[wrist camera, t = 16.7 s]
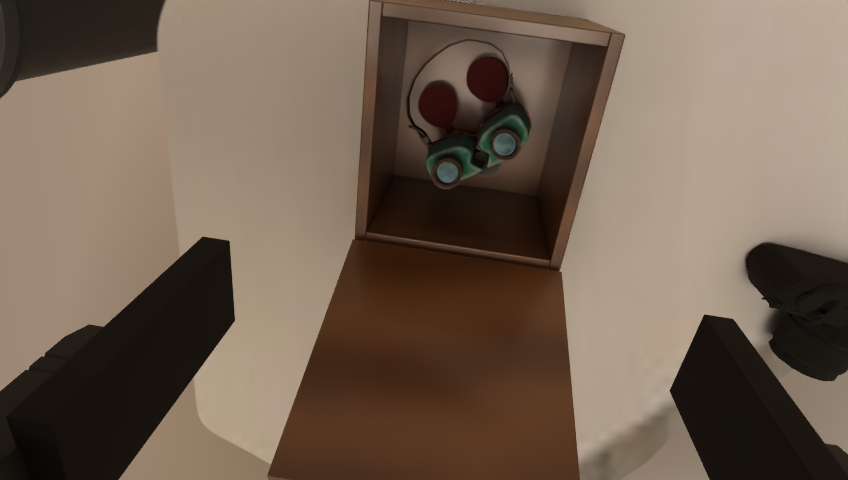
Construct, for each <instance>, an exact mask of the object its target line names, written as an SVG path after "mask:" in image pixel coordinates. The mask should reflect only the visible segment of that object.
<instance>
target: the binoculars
mask: <svg viewBox="0 0 848 480" xmlns="http://www.w3.org/2000/svg"><path fill="white" fill-rule="evenodd" d="M468 40H469V41H474V42H480V43H485V44H490V45H491V46H493V47H494V48H495V49H497V50H498V51H500V52H501V53H502V55H503V58H504V60H505V62H506V64H507V68H508V71H507V68H506V66H505V64H504V63H503V62H502V61H500V60H499V59H497V58H494V57H484V58H480V59H478V60H476V61H475V62H473V64H472V65H471V66H470V67H469V69H468V72H467V76H466V82H467V86H468V89H469V90H470V92H471V93H472V94H473V95H474V96H475V97H476V98H477V99H479V100H481V101H483V102H487V103H493V102H495V104H496V108H495V109H494V111H493V113H492V115H490V116H489V117H488V118H486V120H485V121H484V123H481V124H480V129H479V131H478V132H476V133H471V132H467V131H461V130H456V129H454V127H453V125H452V123H453V121H454V120H455V118H456V115H457V108H458V104H457V99H456V96H455V94H454V93H453V91H452V90H451V89H450V88H448V87H447V86H444V85H439V84H436V85H432V86H429V87H427V88H426V89H425V90H424V91H423V92H422V93H421V95H420V97H419V101H418V108H419V112H420V114H421V116H422V118H423V119H424V120H425V121H426V122H428V123H429V124H431V125H433V126H435V127H438V128H445V130H446V132H447V135H446V137H443V138H441V139H438V140H437V141H434V142H432V141H431V140H430V138H429V136H428V135H427V133H426V132H425V131H424V130H423V129H421V128H420V127H418V126H417V125H415V123H414V121H413V119H412V117H411V115H410V94H411V91H412V88H413V85H414V82H415V80H416V78H417V76H418V75H419V74H420V72H421V71H422V70H423V68H424V67H425V66H426V64H428V63H429V62H430V61H431V60H432V59H433V58H434V57H435V56H436V55H438V54H439V53H440V52H442V51H443V50H445V49H446V48H448V47H449V46H452V45H455V44H458V43H461V42H465V41H468ZM508 74H509V76H508ZM512 75H513V73H511V77H510V71H509V64H508V62H507V60H506V58H505V56H504V53H503V51H502V50H500V49H499V48H497V47H496V46H494V45H493V44H492V43H490V42H484V41H479V40H473V39H465V40H462V41H458V42H455V43H452V44H449V45H447V46H445V47H444V48H443V49H441V50H440V51H438V52H437V53H435V54H434V55H433V56H432V57H431V58H430V59H428V60H427V61H426V62H425V63H424V64H423V65H422V67H421V68H420V69H419V71H418V72H417V73H416V75H415V76H414V77H413V79H412V82H411V85H410V87H409V90H408V93H407V96H406V116H407V118H408V120H409V122H410V124H411V125H409V126H408V127H409V128H410V129H413V130H415V131H416V132H417V134H418V136H419V137H420V139H421V141H422V142H423V143H424V144H425V145H426V146H427V147H428V155H427V158H426V167H427V170H428V172H429V174H430V176H431V178H432V181H433V182H434V184H435V185H436V186H437V187H439V188H441V189H451V188H453V187H455V186H456V185H457V184H458V183H459V182H460V180H463V179H466V178H468V177H471V176H473V175H475V174H478V175H479V176H483V177H485V178H486V177H492V176H493V175H494V174H497V172H498V169H500V167H501V165H500V163H501V162H502V161H504V160H505V161H507V160H512V159H514V158H515V157H516V156H517V155H518V154H519V152H520V150H521V147H522V146H523V145H524V144H525V143H526V141H527V140H528V137H529V133H530V131H531V128H532V123H531V119H530V117H529V115H528V114H529V111H527V110H526V109H525V108H524V106H523V105H522V104H521V103H519V102H517V99H516V98H515V94H514V91H515V89H514V85H513V82H512V81H513V80H514V78H513V77H512ZM508 82H509V87H508ZM510 84H511V85H512V87H510ZM507 87H508V90H509V93H511V97H512V101H511V102H510V103H508V104H506V105H505V103H504V100H503V98H502V97H503V96H504V94H505V93H506V90H507ZM479 132H480V134H479ZM478 134H479V147H480V148H481V149H480V150H478V149H477V147H476V145H477V137H476V136H477V135H478ZM425 138H427V140H428V141H429V142H428V143H427V142H426V141H425V140H424V139H425ZM431 145H432V146H431Z"/></svg>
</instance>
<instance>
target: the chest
mask: <svg viewBox="0 0 848 480" xmlns="http://www.w3.org/2000/svg"><path fill="white" fill-rule="evenodd" d="M624 38H625V34H623V33H621V32H618V31H615V30H613V29H610V28H608V27H605V26H602V25H600V24H597V23H594V22H592V21H589V20H587V19H580V18H573V17H565V16H558V15H550V14H543V13H536V12H528V11H521V10H513V9H506V8H498V7H491V6H483V5H476V4H468V3H461V2H454V1H446V0H369V12H368V28H367V45H366V61H365V78H364V94H363V110H362V127H361V143H360V160H359V176H358V192H357V209H356V225H355V240H361V241H367V242H374V243H380V244H386V245H393V246H399V247H406V248H412V249H418V250H425V251H431V252H437V253H444V254H450V255H457V256H463V257H469V258H476V259H482V260H489V261H495V262H501V263H508V264H514V265H520V266H527V267H533V268H540V269H546V270H552V271H560V268H561V264H562V260H563V257H564V253H565V250H566V246H567V243H568V239H569V235H570V232H571V228H572V225H573V221H574V217H575V214H576V210H577V207H578V203H579V200H580V196H581V192H582V189H583V185H584V182H585V178H586V175H587V171H588V167H589V164H590V160H591V157H592V153H593V149H594V146H595V142H596V139H597V135H598V132H599V128H600V124H601V121H602V117H603V114H604V110H605V106H606V103H607V99H608V96H609V92H610V89H611V85H612V81H613V78H614V74H615V71H616V67H617V64H618V60H619V56H620V53H621V49H622V46H623V42H624ZM465 39H473V40H479V41H484V42H490V43H492V44H493V45H494V46H496V47H497V48H499V49H500V50H502V51H503V53H504V56H505V58H506V60H507V62H508V64H509V71H510V77H511V73H513V75H512V77H513V78H514V80H513V81H512V82H513V85H514V89H515V91H514V94H515V98H516V99H517V102H519V103H521V104H522V105H523V106H524V108H525V109H526V110H527V111H529V114H528V115H529V117H530V119H531V123H532V128H531V131H530V133H529V137H528V140H527V141H526V143H525V144H524V145H523V146H522V147H521V150H520V152H519V154H518V155H517V156H516V157H515V158H514V159H512V160H507V161H505V160H504V161H502V162H501V163H500V165H501V167H500V169H498V172H497V174H494V175H493V176H492V177H486V178H485V177H483V176H479V175H478V174H475V175H473V176H471V177H468V178H466V179H463V180H460V182H459V183H458V184H457V185H456V186H455V187H453V188H451V189H441V188H439V187H437V186H436V185H435V184H434V182H433V181H432V178H431V176H430V174H429V172H428V170H427V167H426V158H427V155H428V147H427V146H426V145H425V144H424V143H423V142H422V141H421V139H420V137H419V136H418V134H417V132H416V131H415V130H413V129H410V128H409V127H408V126H409V125H411V124H410V122H409V120H408V118H407V116H406V96H407V93H408V90H409V87H410V85H411V82H412V79H413V77H414V76H415V75H416V73H417V72H418V71H419V69H420V68H421V67H422V65H423V64H424V63H425V62H426V61H427V60H428V59H430V58H431V57H432V56H433V55H434V54H435V53H437V52H438V51H440V50H441V49H443V48H444V47H445V46H447V45H449V44H452V43H455V42H458V41H462V40H465ZM484 57H494V58H497V59H499V60H500V61H502V62H503V63H504V64H505V66H506V68H507V64H506V62H505V60H504V58H503V55H502V53H501V52H500V51H498V50H497V49H495V48H494V47H493V46H491V45H490V44H485V43H480V42H474V41H469V40H468V41H465V42H461V43H458V44H455V45H452V46H449V47H448V48H446V49H445V50H443V51H442V52H440V53H439V54H438V55H436V56H435V57H434V58H433V59H432V60H431V61H430V62H429V63H428V64H426V66H425V67H424V68H423V70H422V71H421V72H420V74H419V75H418V76H417V78H416V80H415V82H414V85H413V88H412V91H411V94H410V115H411V117H412V119H413V121H414V123H415V125H417V126H418V127H420V128H421V129H423V130H424V131H425V132H426V133H427V135H428V136H429V138H430V140H431V141H432V142H434V141H437V140H438V139H441V138H443V137H446V135H447V132H446V130H445V128H438V127H435V126H433V125H431V124H429V123H428V122H426V121H425V120H424V119H423V118H422V116H421V114H420V112H419V108H418V101H419V97H420V95H421V93H422V92H423V91H424V90H425V89H426V88H427V87H429V86H432V85H436V84H439V85H444V86H447V87H448V88H450V89H451V90H452V91H453V93H454V94H455V96H456V99H457V104H458V108H457V115H456V118H455V120H454V121H453V123H452V125H453V127H454V129H456V130H461V131H467V132H471V133H476V132H478V131H479V129H480V124H481V123H484V121H485V120H486V118H488V117H489V116H490V115H492V113H493V111H494V109H495V108H496V104H495V102H493V103H487V102H483V101H481V100H479V99H477V98H476V97H475V96H474V95H473V94H472V93H471V92H470V90H469V89H468V86H467V82H466V76H467V72H468V69H469V67H470V66H471V65H472V64H473V62H475V61H476V60H478V59H480V58H484ZM507 71H508V68H507ZM508 76H509V74H508ZM508 87H509V82H508ZM508 87H507V90H506V93H505V94H504V96H503V97H502V98H503V100H504V103H505V105H506V104H508V103H510V102H511V101H512V97H511V93H509V90H508ZM510 87H512V85H511V84H510ZM479 134H480V132H479ZM479 134H478V135H477V136H476V137H477V145H476V147H477V149H478V150H480V149H481V148H480V147H479ZM424 140H425V141H426V142H427V143H428V142H429V141H428V140H427V138H425V139H424ZM431 146H432V145H431Z"/></svg>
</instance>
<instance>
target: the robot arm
mask: <svg viewBox="0 0 848 480" xmlns="http://www.w3.org/2000/svg"><path fill="white" fill-rule="evenodd" d="M234 321H235V315H234V300H233V286H232V271H231V256H230V242H229V241H227V240H221V239H214V238H208V237H202V238H201V239H200V240H199V241H198V242H196V243H195V244H194V245H193V246H192V247H191V248H190V249H189V250H188V251H187V252H186V253H184V254H183V255H182V256H181V257H180V258H179V259H178V260H177V261H176V262H175V263H174V264H172V265H171V266H170V267H169V268H168V269H167V270H166V271H165V272H164V273H162V274H161V275H160V276H159V277H158V278H157V279H156V280H155V281H154V282H153V283H152V284H150V285H149V286H148V287H147V288H146V289H145V290H144V291H143V292H142V293H141V294H140V295H138V296H137V297H136V298H135V299H134V300H133V301H132V302H131V303H130V304H129V305H128V306H126V307H125V308H124V309H123V310H122V311H121V312H120V313H119V314H118V315H116V317H114V318H113V319H112V320H111V321H110V322H109V323H108V324H107V325H105V326H104V327H101V326H95V325H87V326H86V327H84V328H81V329H80V330H77V331H75V332H74V333H72V334H69V335H67V336H65V337H64V338H63V339H61V341H59V342H58V343H57V344H56V345H54V346H53V347H52V348H51V349H50V350H49V351H47V352H46V353H45V356H44V357H40V358H39V359H38V360H37V361H35V362H34V363H33V364H32V365H31V366H30V368H29V370H25V371H24V372H23V373H21V374H20V375H19V376H18V377H17V378H15V379H14V380H13V381H12V382H11V383H10V384H9V385H7V386H6V387H5V388H4V389H3V390H1V391H0V480H118V479H119V478H120V477H121V475H122V474H123V473H124V471H125V470H126V469H127V467H128V466H129V464H130V463H131V462H132V460H133V459H134V458H135V456H136V455H137V454H138V452H139V451H140V450H141V448H142V447H143V445H144V444H145V443H146V441H147V440H148V439H149V437H150V436H151V434H152V433H153V432H154V430H155V429H156V428H157V426H158V425H159V424H160V422H161V421H162V419H163V418H164V417H165V415H166V414H167V413H168V411H169V410H170V409H171V407H172V406H173V404H174V403H175V402H176V400H177V399H178V397H179V396H180V395H181V394H182V392H183V391H184V389H185V388H186V387H187V385H188V384H189V383H190V381H191V380H192V378H193V377H194V376H195V374H196V373H197V372H198V370H199V369H200V368H201V366H202V365H203V363H204V362H205V361H206V359H207V358H208V357H209V355H210V354H211V353H212V351H213V350H214V348H215V347H216V346H217V344H218V343H219V342H220V340H221V339H222V338H223V336H224V335H225V333H226V332H227V331H228V329H229V328H230V327H231V325H232V324H233V322H234ZM670 393H671V395H672V397H673V399H674V401H675V404H676V406H677V408H678V410H679V413H680V415H681V417H682V419H683V421H684V424H685V426H686V428H687V430H688V432H689V435H690V437H691V439H692V441H693V443H694V446H695V448H696V450H697V452H698V455H699V456H700V459H701V461H702V463H703V466H704V468H705V470H706V472H707V474H708V477H709V479H710V480H848V454H847V453H846V452H844V451H843V450H842V449H841V448H840V447H838V446H836V445H831V444H825V443H824V442H823V441H822V439H821V438H820V436H819V435H818V434H817V433H816V432H815V430H814V428H813V427H812V426H811V425H810V423H809V422H808V420H807V419H806V417H805V416H804V415H803V413H802V412H801V411H800V409H799V408H798V407H797V405H796V404H795V402H794V401H793V400H792V399H791V397H790V396H789V394H788V393H787V392H786V390H785V389H784V388H783V386H782V385H781V383H780V382H779V381H778V379H777V378H776V377H775V375H774V374H773V373H772V371H771V370H770V368H769V367H768V366H767V364H766V363H765V362H764V360H763V359H762V358H761V356H760V355H759V354H758V352H757V351H756V349H755V348H754V347H753V345H752V344H751V343H750V341H749V340H748V339H747V337H746V336H745V334H744V333H743V332H742V330H741V329H740V328H739V326H738V325H737V324H736V322H735V321H734V320H733V319H730V318H723V317H717V316H710V315H704V316H703V319H702V321H701V323H700V325H699V327H698V330H697V332H696V334H695V336H694V338H693V341H692V343H691V345H690V347H689V349H688V352H687V354H686V356H685V358H684V360H683V363H682V365H681V367H680V369H679V371H678V374H677V376H676V378H675V380H674V382H673V385H672V387H671V389H670Z"/></svg>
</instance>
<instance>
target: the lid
mask: <svg viewBox="0 0 848 480" xmlns="http://www.w3.org/2000/svg"><path fill="white" fill-rule="evenodd" d="M268 479H269V480H580V477H579V465H578V454H577V442H576V431H575V420H574V408H573V397H572V385H571V374H570V362H569V351H568V340H567V328H566V317H565V305H564V294H563V282H562V272H559V271H552V270H546V269H540V268H533V267H527V266H520V265H514V264H508V263H501V262H495V261H489V260H482V259H476V258H469V257H463V256H457V255H450V254H444V253H437V252H431V251H425V250H418V249H412V248H406V247H399V246H393V245H386V244H380V243H374V242H367V241H361V240H354V239H353V240H352V243H351V246H350V249H349V251H348V254H347V257H346V260H345V262H344V265H343V268H342V271H341V273H340V276H339V279H338V282H337V285H336V287H335V290H334V293H333V296H332V298H331V301H330V304H329V307H328V309H327V312H326V315H325V318H324V320H323V323H322V326H321V329H320V331H319V334H318V337H317V340H316V342H315V345H314V348H313V351H312V354H311V356H310V359H309V362H308V365H307V367H306V370H305V373H304V376H303V378H302V381H301V384H300V387H299V389H298V392H297V395H296V398H295V400H294V403H293V406H292V409H291V412H290V414H289V417H288V420H287V423H286V425H285V428H284V431H283V434H282V436H281V439H280V442H279V445H278V447H277V450H276V453H275V456H274V458H273V461H272V464H271V467H270V470H269V472H268Z"/></svg>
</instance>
